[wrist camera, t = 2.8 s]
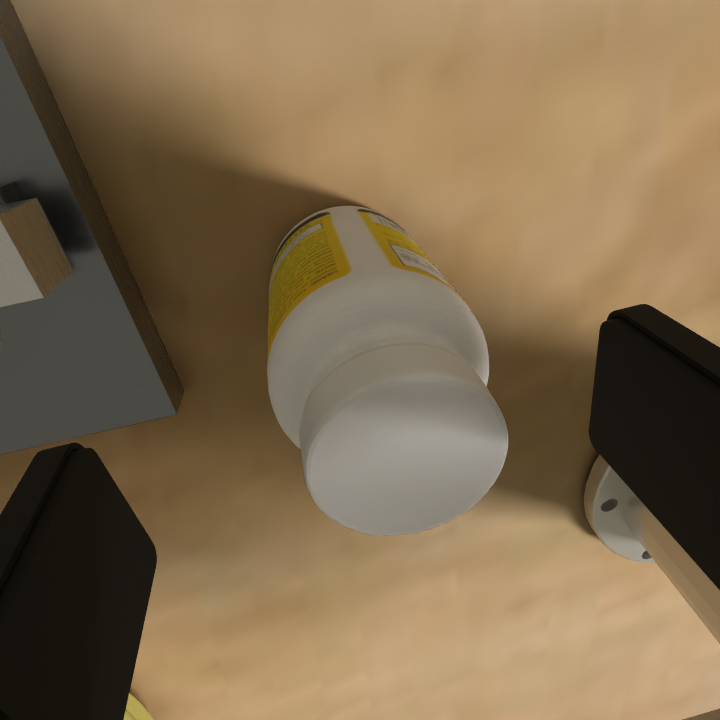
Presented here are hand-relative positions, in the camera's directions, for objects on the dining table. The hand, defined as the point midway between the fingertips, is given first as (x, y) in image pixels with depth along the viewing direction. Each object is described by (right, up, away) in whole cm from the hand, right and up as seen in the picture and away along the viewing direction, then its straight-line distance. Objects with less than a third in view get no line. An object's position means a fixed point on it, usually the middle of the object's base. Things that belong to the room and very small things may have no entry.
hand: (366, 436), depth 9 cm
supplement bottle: (-1, +4, +9) cm, 10 cm away
